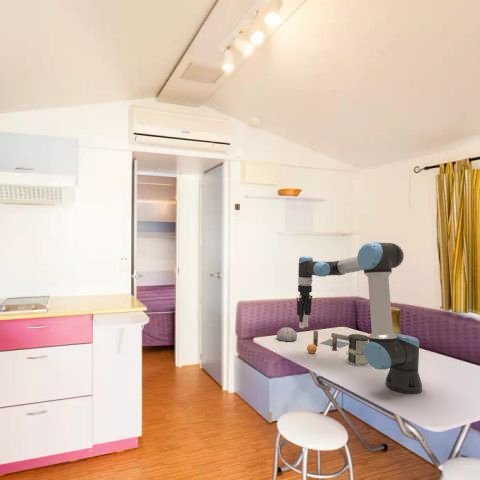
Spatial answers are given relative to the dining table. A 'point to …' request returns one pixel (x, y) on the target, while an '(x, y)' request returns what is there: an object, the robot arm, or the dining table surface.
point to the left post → (315, 338)
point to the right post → (334, 342)
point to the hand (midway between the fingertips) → (303, 327)
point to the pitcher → (396, 320)
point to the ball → (311, 348)
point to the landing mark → (339, 343)
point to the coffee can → (357, 349)
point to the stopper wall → (341, 336)
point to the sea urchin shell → (286, 334)
